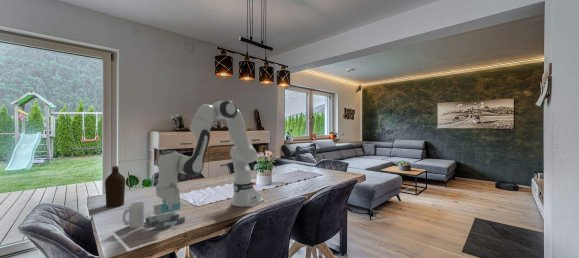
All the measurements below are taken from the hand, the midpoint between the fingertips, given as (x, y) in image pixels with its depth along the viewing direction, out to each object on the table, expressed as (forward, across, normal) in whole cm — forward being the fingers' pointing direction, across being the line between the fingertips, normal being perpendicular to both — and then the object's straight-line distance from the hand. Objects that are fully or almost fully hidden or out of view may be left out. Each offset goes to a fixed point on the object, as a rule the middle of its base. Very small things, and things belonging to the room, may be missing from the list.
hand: (167, 208), depth 127 cm
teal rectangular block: (+2, 0, 0) cm, 2 cm away
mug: (+9, +9, +13) cm, 18 cm away
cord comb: (+9, +3, 0) cm, 10 cm away
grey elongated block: (+8, +6, 0) cm, 10 cm away
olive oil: (+9, +56, +9) cm, 58 cm away
